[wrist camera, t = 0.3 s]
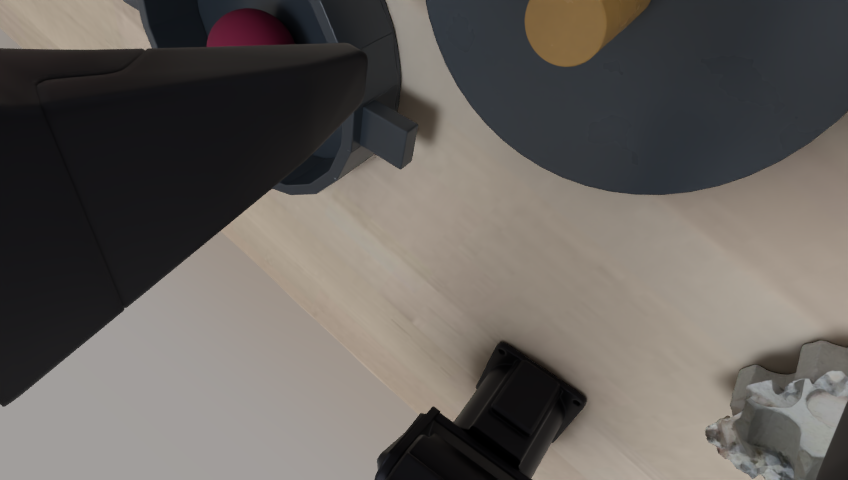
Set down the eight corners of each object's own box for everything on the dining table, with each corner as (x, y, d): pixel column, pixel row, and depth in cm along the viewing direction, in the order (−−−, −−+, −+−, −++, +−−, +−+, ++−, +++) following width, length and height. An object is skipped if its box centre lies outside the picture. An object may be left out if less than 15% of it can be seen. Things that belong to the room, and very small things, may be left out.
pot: (416, 229, 35) (378, 264, 33) (184, 80, 41) (138, 100, 39) (475, -35, 23) (421, -10, 20) (134, -189, 29) (62, -183, 27)
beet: (314, 94, 33) (253, 128, 30) (257, 60, 34) (193, 89, 31) (315, 18, 29) (247, 47, 26) (252, -17, 31) (179, 8, 28)
